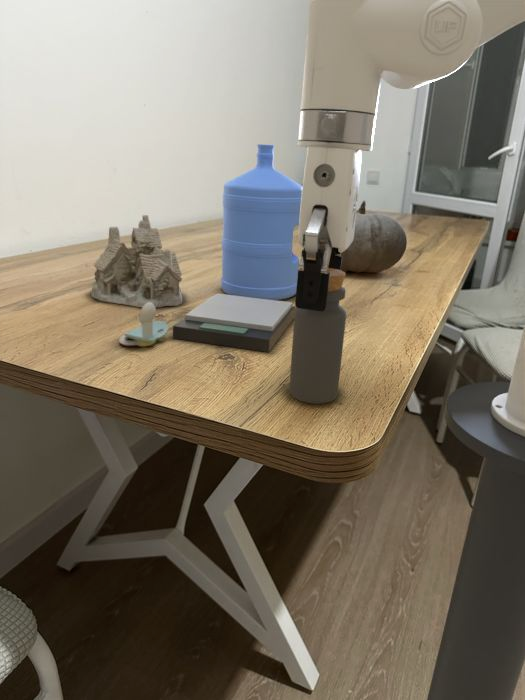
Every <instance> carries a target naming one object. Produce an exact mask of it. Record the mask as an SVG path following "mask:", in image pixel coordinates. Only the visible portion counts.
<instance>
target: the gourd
mask: <svg viewBox="0 0 525 700" xmlns="http://www.w3.org/2000/svg"><path fill="white" fill-rule="evenodd" d="M366 203H367V202H366V200H363V201H362V202H361V204H360V207H359V208H358V210H356V220H355V231H354V239H353V241H352V243H351V244H350V246H349V247H348V248H347V249H346V250H345V251H343V252H342V253H341V256H342V264H341V271H343V272H345V273H347V272H349V271H350V272H354V273H362V272H364V273H371V274H377V273H381V272H384V271H386V270H388V269H390V268H392V267H394V266H395V265H396V264H398V262H400V260H401V259H402V258H403V256H404V254H405V253H406V250H407V245H408V239H407V234H406V231H405V228H404V227H403V226H402V224H401V223H399V221H397V220H396V218H394V217H392V216H390V215H387V214H383V213H373V214H369V213H366V212H367V211H366V205H367V204H366ZM336 256H340V255H336Z"/></svg>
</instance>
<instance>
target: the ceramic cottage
mask: <svg viewBox="0 0 525 700" xmlns="http://www.w3.org/2000/svg"><path fill="white" fill-rule="evenodd" d="M141 216H142V217H141V220H139V222H138V227H132V231H131V241H130V245H131V247H127V246H126V245H125V243H124V242H122V241H121V233H120V228H119V227H118V226H109V227H108V228H109V229H108V238H107V245H106V246H105V247H106V248H105V249H104V251H103V252H102V253H101V254H100V256H99V258H98V259H97V260H96V262H95V263H93V265H92V266H93V267H94V268H96V270H95V271H94V280H95V281H94V282H93V283H92V285H91V286H92V287H91V293H90V296H91V297H92V298H93V299H95V300H98V301H101V302H104V303H105V302H106V303H113V304H119V305H127V306H131V307H136V308H141V309H142V308H143V306H144V305H145V304H146V303H148V302H151V303H153V304H154V306H155V308H156V309H157V308H162V307H163V308H164V307H168V306H169V307H172V306H173V307H176V306H179V305H182V304H183V301H184V300H183V296H182V290H181V287H180V283H181V282H182V280H183V278H182V271H181V268H180V265H179V262H178V257H177V254H176V252H175V251H173V252H171V249H165V250H163V249H162V248H163V244H162V240H161V239H162V238H161V236H160V233H159V229H158V227H153V228H152V227H151V222H150V218H149V215H148V214H143V215H141Z"/></svg>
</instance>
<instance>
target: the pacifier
mask: <svg viewBox="0 0 525 700" xmlns="http://www.w3.org/2000/svg"><path fill="white" fill-rule="evenodd" d="M156 314H157V308H155V306H154V304H153V303H151V302H148V303H146V304H145V305H144V306H143V308H142V307H141V310H140V312H139V317H138V319H139V322H140V323H141V325H140V326H138V327H136V328H134V329H132V330H130V331H127V332H124V333H123V335H122V336H121V337H120V338H119V339H118V342H119V344H121V345H123V346H138V347H149V346H153V345H154V344H155V343H157V341H158V340H160V339H162V338H163V337H166V335H167V334H168V331H169V325H168V324H167V322H165V321H162V320H155V321H153V320H154V319H155V317H156ZM128 339H132V340H128Z"/></svg>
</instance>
